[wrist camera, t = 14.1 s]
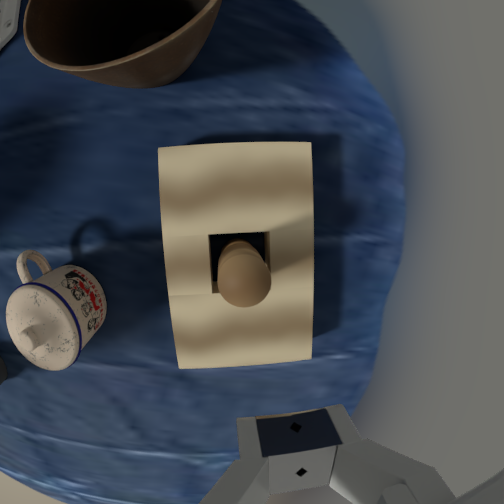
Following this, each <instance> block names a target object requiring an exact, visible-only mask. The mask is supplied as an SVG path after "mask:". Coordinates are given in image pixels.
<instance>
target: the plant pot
mask: <svg viewBox="0 0 504 504" xmlns="http://www.w3.org/2000/svg"><path fill="white" fill-rule="evenodd" d="M221 2H222V0H29V2H28V5H27V7H26V11H25V16H24V25H23V30H24V37H25V41H26V44H27V46H28V48H29V50H30V52H31V53H32V54H33V55H34V56H35V57H36V58H37V59H38V60H39V61H41V62H42V63H44V64H46V65H48V66H50V67H53V68H56V69H58V70H61V71H64V72H67V73H69V74H72V75H75V76H78V77H81V78H84V79H87V80H91V81H95V82H99V83H103V84H107V85H112V86H118V87H126V88H155V87H160V86H163V85H166V84H168V83H170V82H172V81H174V80H175V79H177V78H178V77H179V76H180V75H181V74H183V73H184V72H185V71H186V70H187V68H188V67H189V66H190V65H191V63H192V62H193V61H194V59H195V58H196V57H197V55H198V53H199V52H200V50H201V48H202V47H203V45H204V43H205V41H206V39H207V37H208V35H209V33H210V31H211V29H212V26H213V24H214V22H215V19H216V17H217V14H218V11H219V8H220V5H221ZM161 36H162V37H163V39H162V40H159V37H161Z"/></svg>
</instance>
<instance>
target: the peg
mask: <svg viewBox="0 0 504 504" xmlns="http://www.w3.org/2000/svg"><path fill="white" fill-rule="evenodd" d="M270 288H271V274H270V271H269V269H268V268H267V266H266V264H265V263H264V261H263V259H262V258H261V256H260V254H259V253H258V251H257V250H256V249H255V248H254V247H253V246H252V245H251V244H250V243H249V242H248V241H247V240H244V239H241V238H235V239H231V240H229V241H228V242H226V243H225V244H224V246H223V247H222V250H221V255H220V257H219V262H218V289H219V292H220V294H221V296H222V297H223V298H224V299H225V300H226V301H227V302H228V303H230V304H231V305H234V306H236V307H242V308H246V307H251V306H254V305H257V304H259V303H260V302H261V301H263V300H264V299H265V297H266V296H267V295H268V293H269V291H270Z"/></svg>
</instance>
